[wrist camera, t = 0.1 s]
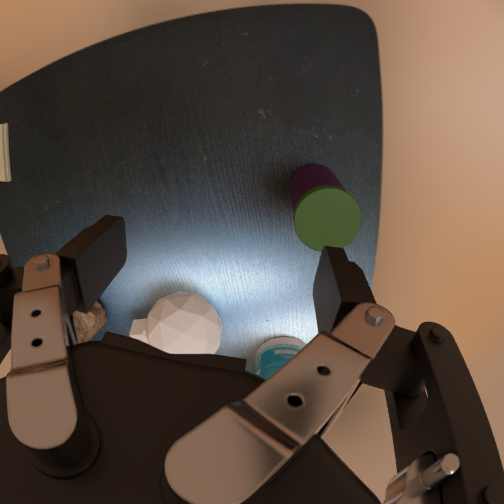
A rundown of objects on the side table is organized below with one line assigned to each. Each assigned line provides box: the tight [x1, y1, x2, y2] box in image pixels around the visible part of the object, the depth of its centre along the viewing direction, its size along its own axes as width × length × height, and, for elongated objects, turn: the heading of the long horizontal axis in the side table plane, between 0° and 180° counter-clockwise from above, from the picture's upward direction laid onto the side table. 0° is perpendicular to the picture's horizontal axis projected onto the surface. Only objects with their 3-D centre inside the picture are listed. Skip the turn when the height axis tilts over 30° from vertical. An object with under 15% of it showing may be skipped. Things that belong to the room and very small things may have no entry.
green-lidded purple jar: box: [289, 164, 361, 252], centre depth 26 cm, size 5×5×9 cm
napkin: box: [0, 123, 12, 182], centre depth 29 cm, size 8×4×1 cm, turn 173°
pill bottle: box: [255, 337, 306, 380], centre depth 34 cm, size 8×7×14 cm
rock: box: [73, 301, 107, 343], centre depth 37 cm, size 13×11×5 cm
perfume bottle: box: [129, 291, 223, 354], centre depth 34 cm, size 9×9×12 cm
